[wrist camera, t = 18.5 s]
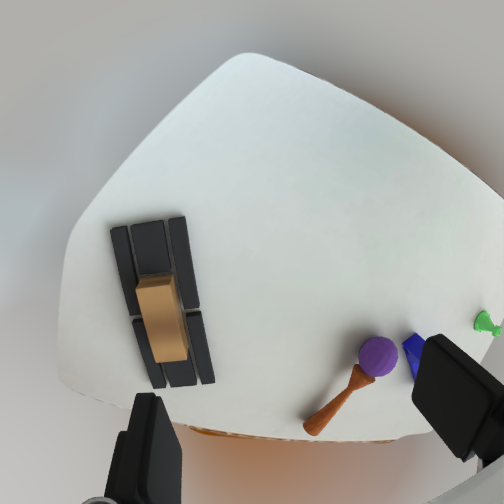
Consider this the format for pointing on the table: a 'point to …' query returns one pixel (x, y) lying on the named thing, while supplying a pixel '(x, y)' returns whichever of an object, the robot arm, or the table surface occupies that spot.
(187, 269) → the pad
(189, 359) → the pad
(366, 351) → the kendama
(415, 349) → the blue cradle bracket
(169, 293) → the block
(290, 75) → the table surface
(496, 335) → the game piece
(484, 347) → the table surface
